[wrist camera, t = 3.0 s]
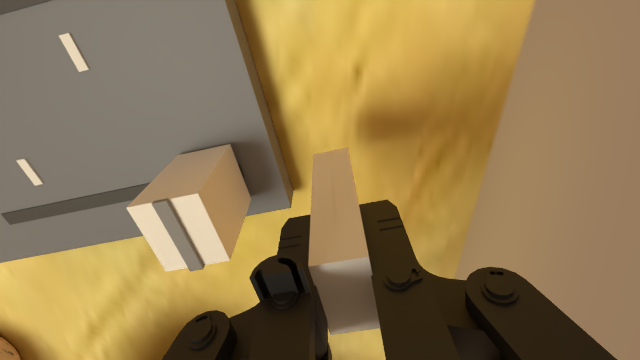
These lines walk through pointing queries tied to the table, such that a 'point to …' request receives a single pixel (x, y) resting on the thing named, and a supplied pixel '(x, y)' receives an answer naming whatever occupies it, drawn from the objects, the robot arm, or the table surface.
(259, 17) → the table surface
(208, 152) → the fader
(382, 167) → the table surface
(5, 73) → the mixer board
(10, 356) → the teacup with lid
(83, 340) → the table surface
